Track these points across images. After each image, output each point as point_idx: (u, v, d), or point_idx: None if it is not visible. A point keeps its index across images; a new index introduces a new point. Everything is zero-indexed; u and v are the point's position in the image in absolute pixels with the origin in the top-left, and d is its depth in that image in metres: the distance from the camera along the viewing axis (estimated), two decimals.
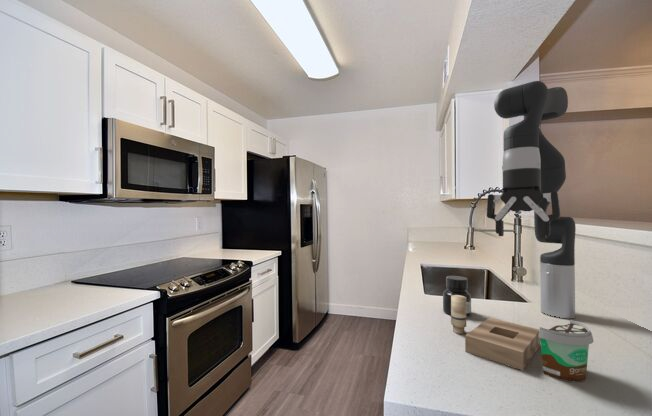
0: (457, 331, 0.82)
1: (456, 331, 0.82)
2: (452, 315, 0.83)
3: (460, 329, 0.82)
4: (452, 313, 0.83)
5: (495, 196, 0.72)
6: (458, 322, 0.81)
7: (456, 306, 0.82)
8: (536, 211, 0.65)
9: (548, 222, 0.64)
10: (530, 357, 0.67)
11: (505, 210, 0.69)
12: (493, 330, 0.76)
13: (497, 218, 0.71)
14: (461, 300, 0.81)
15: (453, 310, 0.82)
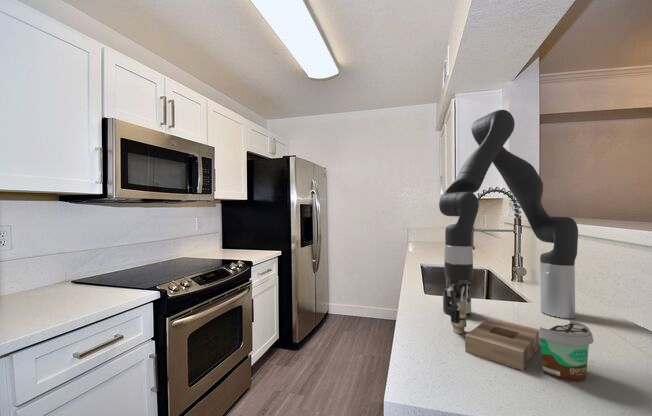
0: (457, 331, 0.82)
1: (456, 331, 0.82)
2: None
3: (460, 329, 0.82)
4: None
5: (452, 289, 0.79)
6: None
7: None
8: (467, 297, 0.83)
9: None
10: (530, 357, 0.67)
11: (462, 299, 0.81)
12: (493, 330, 0.76)
13: (459, 308, 0.80)
14: None
15: None
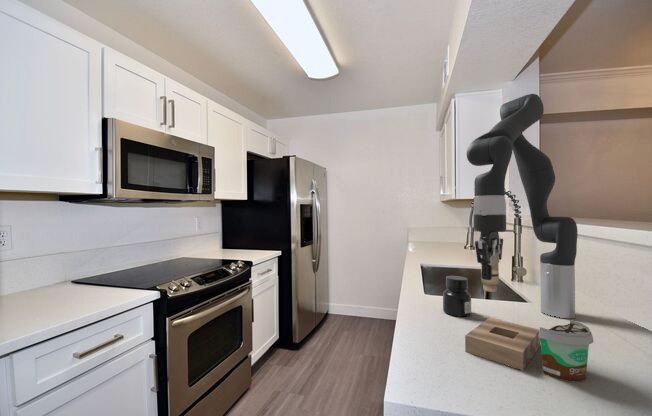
0: (489, 289, 0.75)
1: (487, 289, 0.75)
2: None
3: (492, 286, 0.75)
4: None
5: None
6: None
7: None
8: (499, 253, 0.76)
9: None
10: (530, 357, 0.67)
11: (494, 253, 0.74)
12: (493, 330, 0.76)
13: (491, 263, 0.73)
14: None
15: None
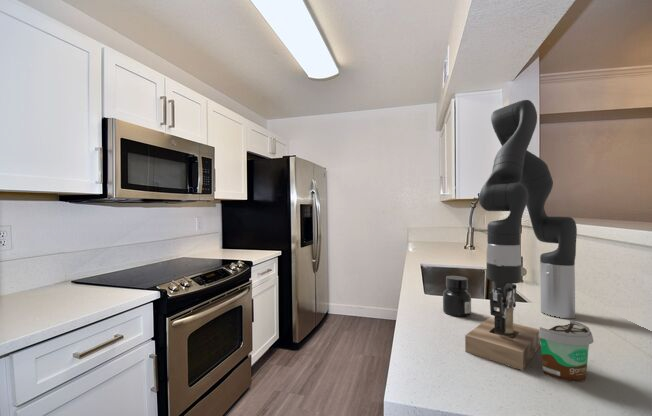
0: None
1: None
2: None
3: None
4: None
5: None
6: None
7: None
8: (514, 302, 0.74)
9: None
10: (530, 357, 0.67)
11: (508, 305, 0.70)
12: (493, 330, 0.76)
13: (505, 316, 0.70)
14: (508, 312, 0.71)
15: None
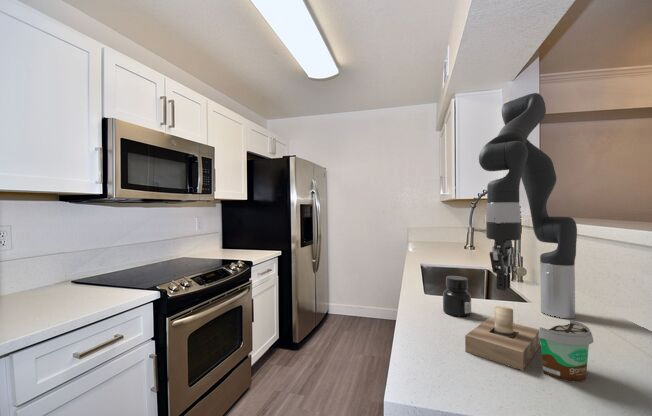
0: None
1: None
2: (497, 329, 0.73)
3: None
4: (497, 327, 0.73)
5: (499, 252, 0.70)
6: None
7: (502, 319, 0.72)
8: (512, 262, 0.73)
9: (509, 274, 0.74)
10: (530, 357, 0.67)
11: (509, 262, 0.71)
12: (493, 330, 0.76)
13: (506, 273, 0.71)
14: (508, 312, 0.71)
15: (498, 324, 0.72)
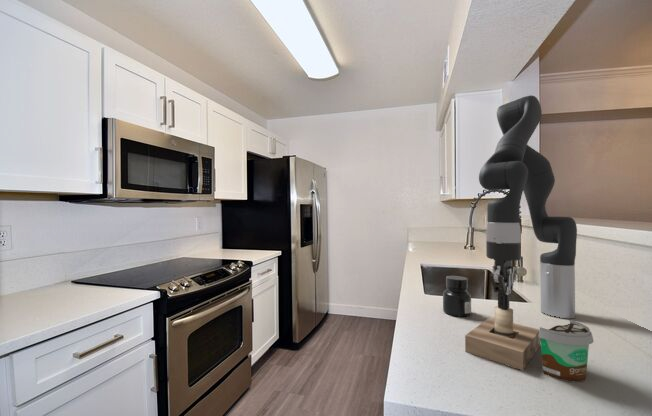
0: None
1: None
2: (497, 329, 0.73)
3: None
4: (497, 327, 0.73)
5: (499, 274, 0.70)
6: None
7: (502, 319, 0.72)
8: (511, 282, 0.73)
9: None
10: (530, 357, 0.67)
11: (510, 282, 0.72)
12: (493, 330, 0.76)
13: None
14: (508, 312, 0.71)
15: (498, 324, 0.72)
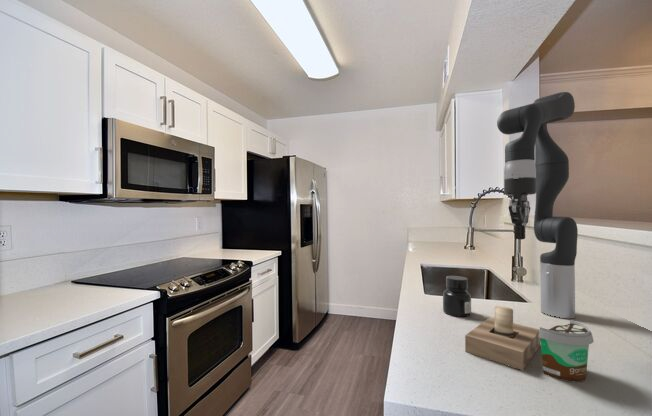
0: None
1: None
2: (497, 329, 0.73)
3: None
4: (497, 327, 0.73)
5: (517, 205, 0.77)
6: None
7: (502, 319, 0.72)
8: (527, 215, 0.80)
9: None
10: (530, 357, 0.67)
11: (526, 214, 0.79)
12: (493, 330, 0.76)
13: (524, 223, 0.80)
14: (508, 312, 0.71)
15: (498, 324, 0.72)
